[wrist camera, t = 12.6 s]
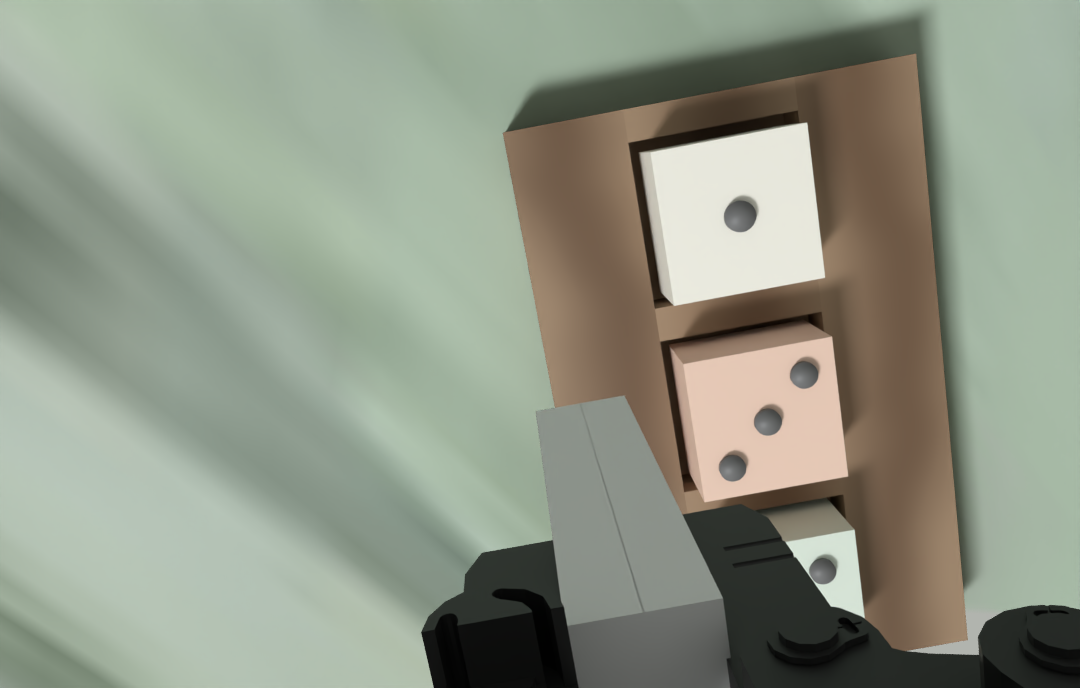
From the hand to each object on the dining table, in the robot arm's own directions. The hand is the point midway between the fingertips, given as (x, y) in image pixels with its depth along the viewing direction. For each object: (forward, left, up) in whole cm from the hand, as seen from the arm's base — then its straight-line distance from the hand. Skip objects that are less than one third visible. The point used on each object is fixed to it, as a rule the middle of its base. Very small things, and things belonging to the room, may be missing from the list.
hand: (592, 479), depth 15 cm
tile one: (+6, +2, -17) cm, 18 cm away
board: (+6, -5, -18) cm, 20 cm away
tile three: (+6, -5, -17) cm, 19 cm away
